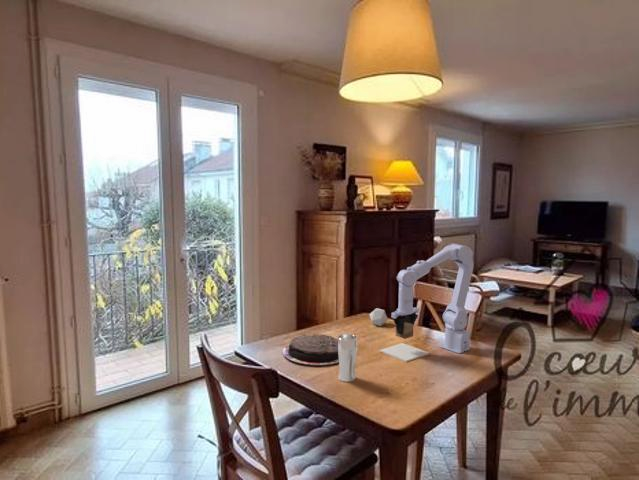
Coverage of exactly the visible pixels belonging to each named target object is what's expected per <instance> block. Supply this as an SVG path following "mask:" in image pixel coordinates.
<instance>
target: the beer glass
mask: <svg viewBox="0 0 639 480" xmlns="http://www.w3.org/2000/svg"><path fill="white" fill-rule="evenodd" d="M337 340H338V344H337V353H338V360H339V364H338V366H339V367H338V368H339V370H338V374H337V378H338V380H339V381H341V382H344V383H350V382H354V381H355V380H356V372H355V367H356V366H355V365H356V360H357V356H358V355H357V354H358V337H357V335H355V334H352V333H341V334H339V335H338V336H337Z"/></svg>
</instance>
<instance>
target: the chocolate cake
mask: <svg viewBox="0 0 639 480" xmlns="http://www.w3.org/2000/svg"><path fill="white" fill-rule="evenodd" d="M337 344H338V338H335V337H333V336H332V335H326V334H321V333H320V334H319V333H317V334H316V333H313V334H301V335H299V336H297V337H294V338H293V339H292V340H291V341H290V343H289V344H287V345H285V346H284V347H283V349H282V355H283V357H284V358H286V359H287V360H288V362H290V363H291V362H292V363H295V364H299V365H305V366H311V367H317V368H318V367H319V368H320V367H326V366H327V367H328V366H331V365H339V360H338V353H337Z"/></svg>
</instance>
